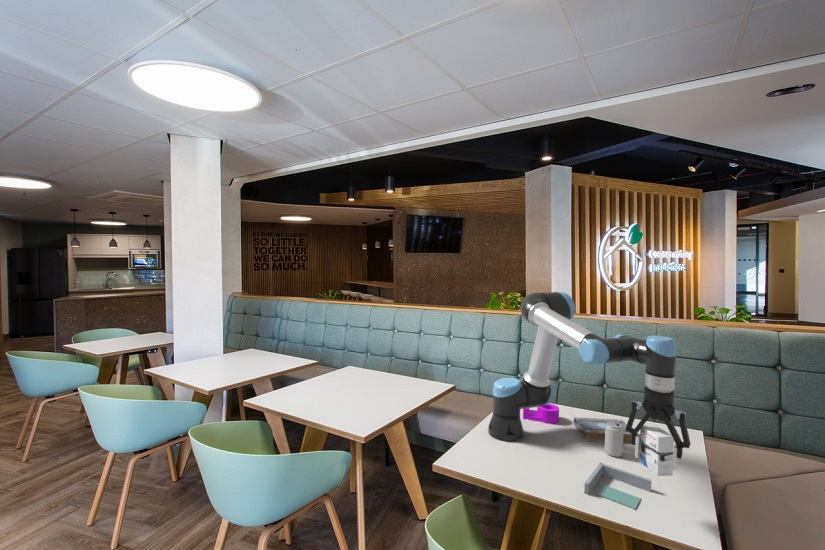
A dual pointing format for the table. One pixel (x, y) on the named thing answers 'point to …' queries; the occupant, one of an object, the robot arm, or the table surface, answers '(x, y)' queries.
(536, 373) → the robot arm
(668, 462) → the ink box
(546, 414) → the tape dispenser
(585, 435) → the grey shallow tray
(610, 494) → the mat
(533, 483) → the table surface
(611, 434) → the beverage can
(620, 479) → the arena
